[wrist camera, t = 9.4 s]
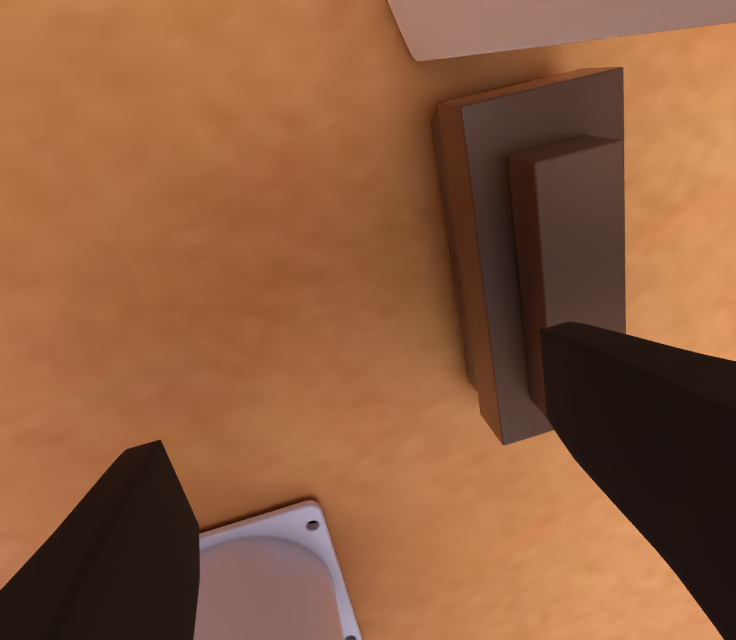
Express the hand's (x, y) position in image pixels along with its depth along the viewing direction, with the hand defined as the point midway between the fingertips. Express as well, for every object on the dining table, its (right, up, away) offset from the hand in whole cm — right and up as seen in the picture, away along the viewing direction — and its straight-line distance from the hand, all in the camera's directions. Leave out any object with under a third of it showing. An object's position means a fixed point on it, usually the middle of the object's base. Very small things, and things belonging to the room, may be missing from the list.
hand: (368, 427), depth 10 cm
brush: (+5, +4, +10) cm, 12 cm away
